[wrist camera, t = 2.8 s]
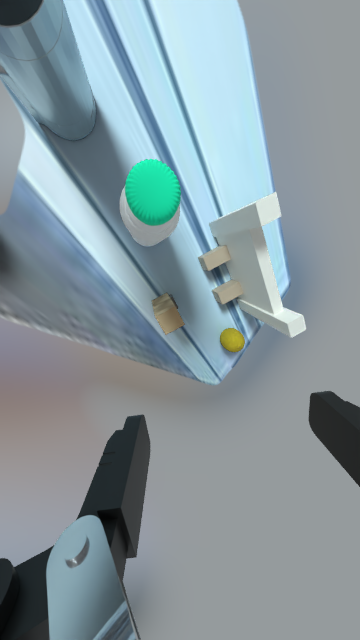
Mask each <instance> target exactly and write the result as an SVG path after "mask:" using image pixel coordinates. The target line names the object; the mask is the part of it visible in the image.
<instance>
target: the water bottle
mask: <svg viewBox="0 0 360 640" xmlns="http://www.w3.org/2000/svg"><path fill="white" fill-rule="evenodd" d="M180 195H181V191H180V186H179V181H178V180H177V176H176V175H175V174H174V172H173V171H171V169H170V167H167V165H166V164H163V163H162V161H158V160H157V159H155V160H152V159H150V160H147V159H146V160H144V161H141V162H140V163H137V164H136V165H135V166H133V168H132V170H131V171H130V172H129V175H128V176H127V180H126V182H125V186H124V188H123V190H122V193H121V196H120V204H119V206H120V214H121V217H122V220H123V222H124V224H125V226H126V228H127V229H128V231H129V232H130V234H131V236H132V237H133V239H134V240H135V241H136V242H137V243H139V244H140V245H143V246H147V247H149V246H154V245H156V244H158V243H159V242H161V241H162V240H164V239H166V238H167V237H168V236H170V235H171V234H172V232H173V231H174V230H175V228H176V226H177V224H178V221H179V216H180V206H179V204H180Z"/></svg>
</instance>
